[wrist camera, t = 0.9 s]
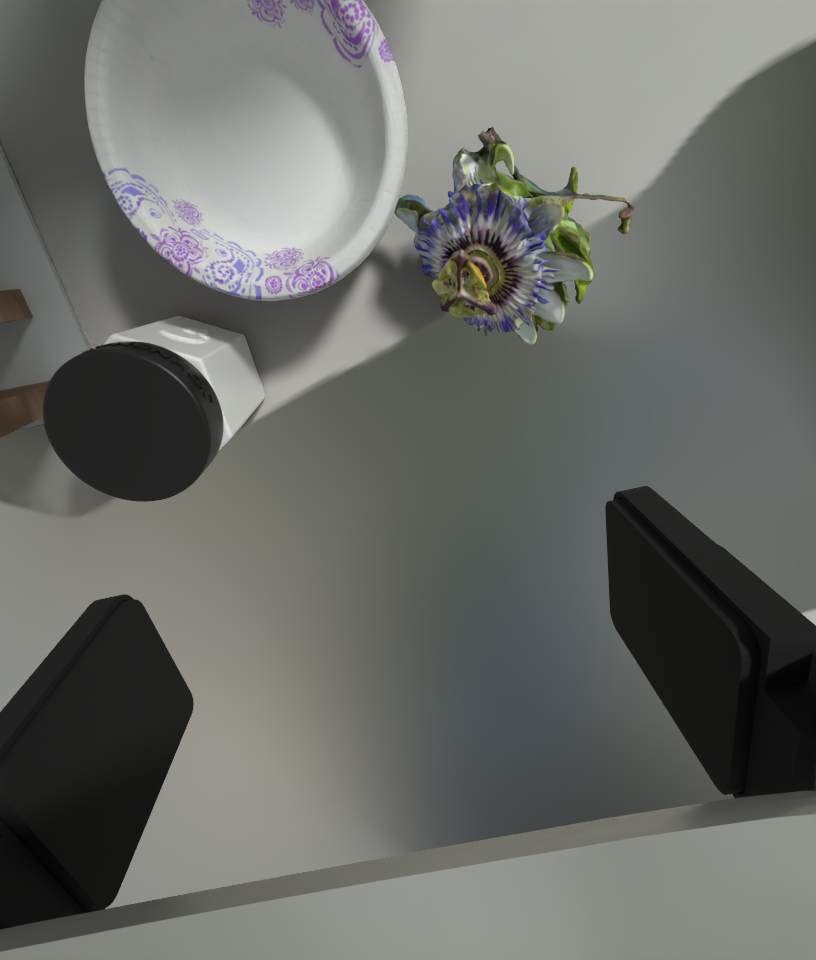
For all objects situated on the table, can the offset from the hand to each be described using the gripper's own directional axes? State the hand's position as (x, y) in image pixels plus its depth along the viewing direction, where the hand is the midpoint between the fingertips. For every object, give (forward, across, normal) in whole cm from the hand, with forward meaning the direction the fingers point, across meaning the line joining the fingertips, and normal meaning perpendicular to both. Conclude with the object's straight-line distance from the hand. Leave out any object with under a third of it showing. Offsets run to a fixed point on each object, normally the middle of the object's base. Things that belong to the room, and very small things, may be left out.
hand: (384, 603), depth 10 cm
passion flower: (+29, -9, -5) cm, 31 cm away
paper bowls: (+29, +4, -13) cm, 31 cm away
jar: (+28, +13, -1) cm, 31 cm away
